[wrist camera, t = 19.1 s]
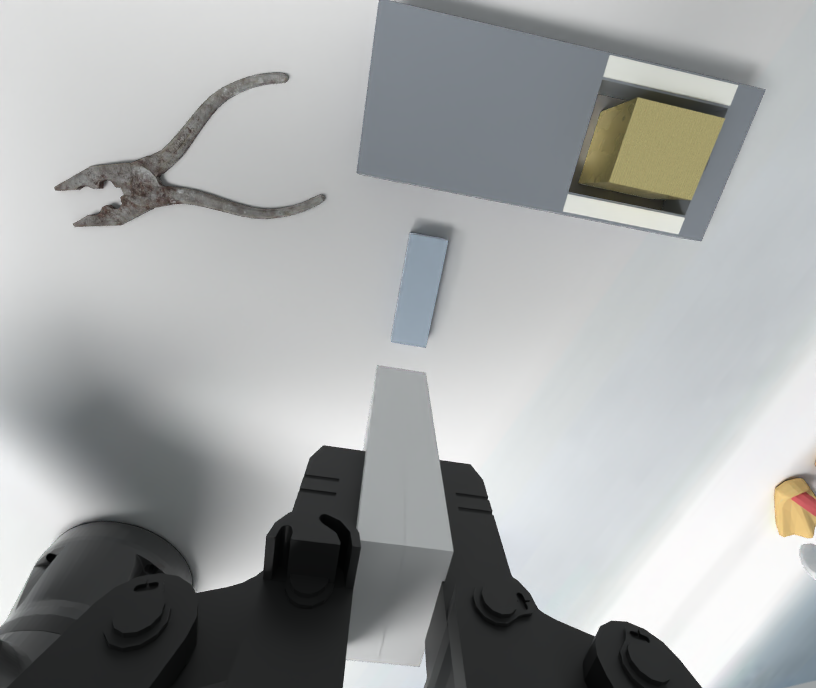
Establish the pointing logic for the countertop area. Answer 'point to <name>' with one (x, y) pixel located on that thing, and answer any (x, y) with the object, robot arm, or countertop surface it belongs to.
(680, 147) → the block
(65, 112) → the countertop surface
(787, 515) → the toy
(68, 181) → the pliers
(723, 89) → the rail board
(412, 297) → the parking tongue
